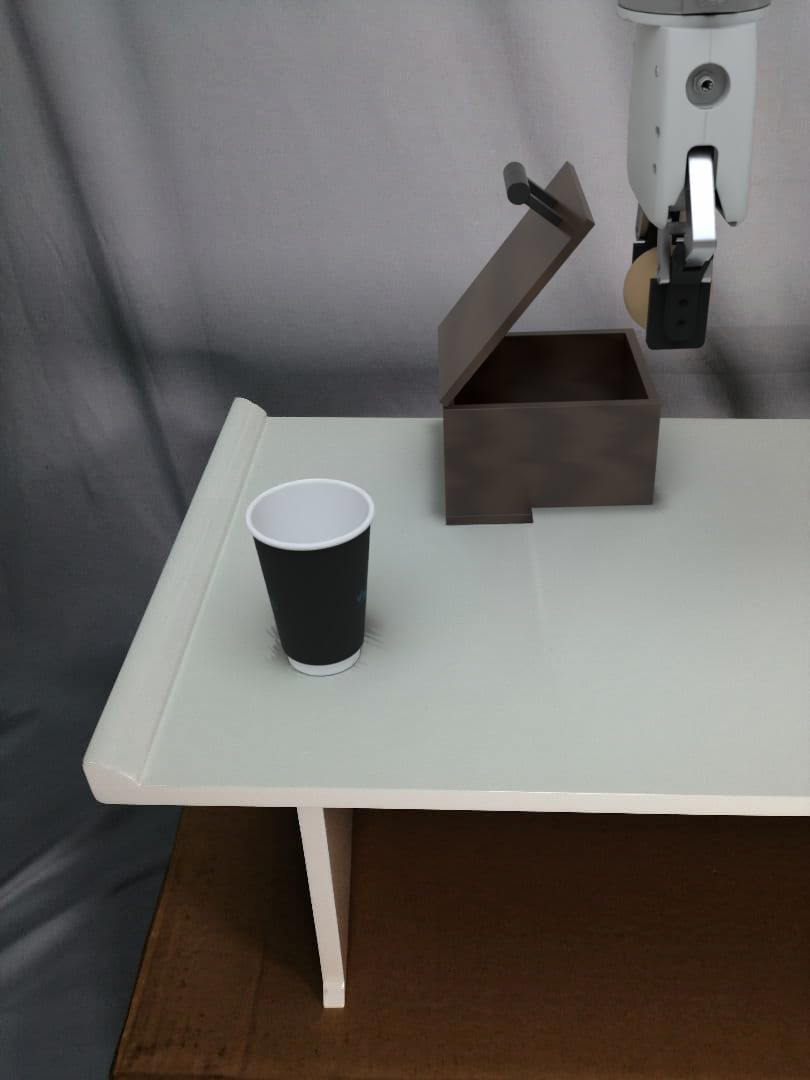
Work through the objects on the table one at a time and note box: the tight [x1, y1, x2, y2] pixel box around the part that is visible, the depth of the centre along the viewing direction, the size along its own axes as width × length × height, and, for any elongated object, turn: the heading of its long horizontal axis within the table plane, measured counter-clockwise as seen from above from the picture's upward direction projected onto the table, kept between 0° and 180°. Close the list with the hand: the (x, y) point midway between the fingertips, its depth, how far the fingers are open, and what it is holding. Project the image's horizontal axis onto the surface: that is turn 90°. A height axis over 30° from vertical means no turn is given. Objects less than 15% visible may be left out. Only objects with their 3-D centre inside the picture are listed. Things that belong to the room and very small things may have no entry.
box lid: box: [437, 160, 596, 407], centre depth 85 cm, size 16×14×5 cm
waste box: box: [442, 327, 662, 526], centre depth 92 cm, size 16×14×10 cm
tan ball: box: [622, 245, 714, 331], centre depth 67 cm, size 5×5×5 cm
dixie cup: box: [244, 477, 376, 677], centre depth 74 cm, size 8×8×11 cm
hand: (665, 323), depth 68 cm, fingers closed on tan ball, 4 cm apart
